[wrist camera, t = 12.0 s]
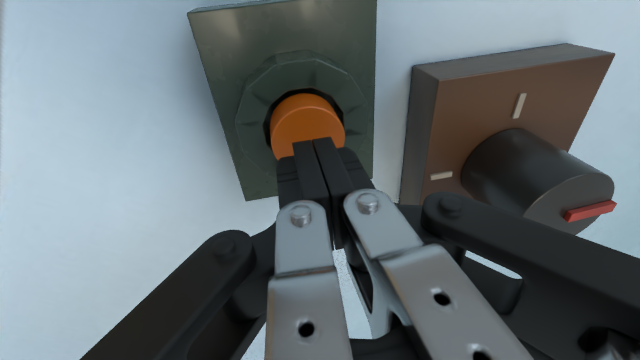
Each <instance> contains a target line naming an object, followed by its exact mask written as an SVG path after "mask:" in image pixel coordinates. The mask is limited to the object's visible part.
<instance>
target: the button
mask: <svg viewBox="0 0 640 360" xmlns="http://www.w3.org/2000/svg"><path fill="white" fill-rule="evenodd" d="M270 136H271V146H272V150H273V153H274V155H275V157H276V159H277V160H278V161H279V159H280V158H281V157H287V156H293V155H294V153H293V147H292V143H293V142H299V141H305V140H311V142H312V139H317V138H323V137H330V136H331V138H332V140H333V142H334V144H335V146H336V148H341V147H343V146H344V142H345V132H344V128H343V126H342V123H341V121H340V120H339V118H338V116H337V115H336V113H335V111H334V109H333V108H332V106H331V105H330V104H329V103H328V102H327V101H326V100H325V99H323V98H322V97H320V96H318V95H315V94H310V93H299V94H295V95H292V96H290V97H288V98H286V99H284V100H283V101H282V102H281V103H279V105H278V106H277V107H276V108H275V110H274V111H273V114H272V116H271V119H270Z"/></svg>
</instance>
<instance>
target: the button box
mask: <svg viewBox="0 0 640 360" xmlns="http://www.w3.org/2000/svg"><path fill="white" fill-rule="evenodd" d="M376 10H377V0H261V1H253V2H244V3H236V4H227V5H218V6H210V7H201V8H196V9H194V10H192V11H190V12H188V13H187V17H188V20H189V23H190V26H191V29H192V32H193V36H194V39H195V42H196V45H197V48H198V51H199V55H200V58H201V61H202V64H203V67H204V70H205V74H206V77H207V80H208V83H209V86H210V89H211V93H212V96H213V99H214V102H215V105H216V109H217V112H218V115H219V118H220V121H221V124H222V128H223V131H224V134H225V137H226V140H227V143H228V147H229V150H230V153H231V156H232V159H233V162H234V166H235V169H236V172H237V175H238V178H239V181H240V185H241V188H242V191H243V194H244V197H245V200H246V201H251V200H256V199H262V198H268V197H273V196H278V186H277V175H276V164H277V163H278V160H277V159H276V157H275V155H274V153H273V150H272V146H271V136H270V119H271V116H272V114H273V111H274V110H275V108H276V107H277V106H278V105H279V103H281V102H282V101H283V100H284V99H286V98H288V97H290V96H292V95H295V94H299V93H310V94H315V95H318V96H320V97H322V98H323V99H325V100H326V101H327V102H328V103H329V104H330V105H331V106H332V108H333V109H334V111H335V113H336V115H337V116H338V118H339V120H340V121H341V123H342V126H343V128H344V132H345V142H344V146H343V147H348V148H349V149H351V150H352V151H354V152H355V153H356V155H357V157H358V158H359V161H360V162H361V164H362V165H363V168H364V169H365V171H366V173H367V174H368V176H369V178H370V179H372V176H373V135H374V93H375V52H376Z"/></svg>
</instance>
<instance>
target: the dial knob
mask: <svg viewBox="0 0 640 360" xmlns="http://www.w3.org/2000/svg"><path fill="white" fill-rule="evenodd" d="M462 184H463V187H464V189H465V190H466V191H467V192H468V193H469V194H470V195H471V196H472V197H473V198H474V199H475V200H477V201H480V202H483V203H485V204H488V205H491V206H494V207H497V208H499V209H502V210H505V211H508V212H511V213H513V214H516V215H519V216H522V217H525V218H527V219H530V220H533V221H536V222H539V223H541V224H544V225H547V226H550V227H552V228H555V229H558V230H561V231H564V232H566V233H569V234H572V235H576V234H578V233H579V232H581V231H582V230H584V229H585V228H587V227H588V226H589V225H590V224H591V223H593V222H594V221H595V220H596V219H597V218H598V217H599V216H600V215H601V214H604V213H608V212H612V211H613V209H614V208H615V206H616V204H617V203H616V202H614V201H612V200H611V199H612V196H613V193H614V183H613V181H612V179H611V178H610V177H609V176H608V175H606V174H604V173H603V172H601V171H599V170H597V169H596V168H594V167H592V166H590V165H588V164H587V163H585V162H583V161H581V160H580V159H578V158H576V157H574V156H573V155H571V154H569V153H567V152H565V151H564V150H562V149H560V148H558V147H557V146H555V145H553V144H551V143H549V142H548V141H546V140H544V139H542V138H541V137H539V136H537V135H535V134H533V133H532V132H530V131H528V130H525V129H510V130H506V131H502V132H500V133H497V134H496V135H494V136H492V137H490V138H489V139H487V140H486V141H484V142H483V143H482V144H481V145H479V146H478V147H477V148H476V149H475V150H474V151H473V153H472V154H471V155H470V157H469V158H468V160H467V161H466V163H465V165H464V168H463V171H462Z"/></svg>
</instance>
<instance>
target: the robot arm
mask: <svg viewBox="0 0 640 360" xmlns="http://www.w3.org/2000/svg"><path fill="white" fill-rule="evenodd" d="M292 147H293V153H294V155H293V156H287V157H281V158H280V159H279V161H278V163H277V164H276V175H277V186H278V196H279V207H280V211H279V212H278V214H277V218H276V221H275V223H274V224H273V225H272V226H270V227H269V228H268V229H266V230H264V231H262V232H260V233H258V234H256V235H254V236H251V237H250V236H249V235H248V234H247V233H245V232H243V231H240V230H227V231H223V232H220V233H217V234H215V235H213V236H212V237H210V238H209V239H208V240H206V241H205V242H204V243H203V244H202V245H201V246H200V247H199V248H198V249H197V250H196V251H195V252H194V253H193V254H191V255H190V256H189V257H188V258H187V259H186V260H185V261H184V262H183V263H182V264H181V265H180V266H179V267H178V268H177V269H175V270H174V271H173V272H172V273H171V274H170V275H169V276H168V277H167V278H166V279H165V280H164V281H163V282H162V283H161V284H160V285H158V286H157V287H156V288H155V289H154V290H153V291H152V292H151V293H150V294H149V295H148V296H147V297H146V298H145V299H144V300H142V301H141V302H140V303H139V304H138V305H137V306H136V307H135V308H134V309H133V310H132V311H131V312H130V313H129V314H128V315H127V316H125V317H124V318H123V319H122V320H121V321H120V322H119V323H118V324H117V325H116V326H115V327H114V328H113V329H112V330H111V331H109V332H108V333H107V334H106V335H105V336H104V337H103V338H102V339H101V340H100V341H99V342H98V343H97V344H96V345H95V346H94V347H92V348H91V349H90V350H89V351H88V352H87V353H86V354H85V355H84V356H83V357H82V358H81V359H80V360H240V359H241V358H242V356H243V355H244V353H245V352H246V350H247V349H248V347H249V346H250V344H251V343H252V342H253V340H254V339H255V337H256V336H257V334H258V333H259V331H260V330H261V328H262V327H263V325H264V324H265V322H266V337H265V357H264V360H640V259H639V258H636V257H633V256H631V255H628V254H625V253H622V252H620V251H617V250H614V249H611V248H608V247H606V246H603V245H600V244H597V243H594V242H592V241H589V240H586V239H583V238H580V237H578V236H575V235H572V234H569V233H566V232H564V231H561V230H558V229H555V228H552V227H550V226H547V225H544V224H541V223H539V222H536V221H533V220H530V219H527V218H525V217H522V216H519V215H516V214H513V213H511V212H508V211H505V210H502V209H499V208H497V207H494V206H491V205H488V204H485V203H483V202H480V201H477V200H474V199H472V198H469V197H466V196H463V195H460V194H457V193H453V192H446V191H441V192H435V193H432V194H430V195H428V196H427V197H426V198H425V199H424V201H423V206H422V205H403V204H397V203H393V201H392V200H391V198H390V197H389V196H388V195H387V194H385V193H383V192H381V191H379V190H376V188H375V187H374V185H373V183H372V181H371V180H370V178H369V176H368V174H367V173H366V171H365V169H364V168H363V165H362V164H361V162H360V161H359V158H358V157H357V155H356V153H355V152H354V151H352V150H351V149H349V148H348V147H341V148H336V146H335V144H334V142H333V140H332V138H331V136H330V137H323V138H317V139H312V142H311V140H305V141H299V142H293V143H292ZM333 241H334V244H333ZM334 245H335V248H336V250H338V249H343V248H344V251H345V254H346V261H347V269H348V272H349V274H350V277H351V279H352V282H353V284H354V287H355V289H356V292H357V294H358V297H359V299H360V301H361V304H362V306H363V309H364V311H365V314H366V316H367V319H368V322H369V325H370V329H371V334H372V338H373V339H351V338H349V335H348V329H347V324H346V318H345V312H344V307H343V301H342V296H341V290H340V285H339V279H338V274H337V269H336V267H335V265H334V259H333V254H332V251H333V250H334ZM467 250H468V251H470V252H472V253H475V254H477V255H479V256H481V257H483V258H485V259H488V260H490V261H492V262H494V263H496V264H498V265H501V266H503V267H505V268H507V269H509V270H511V271H513V272H515V273H517V274H519V275H520V276H521V277H522V279H514V278H511V277H508V276H506V275H504V274H502V273H500V272H498V271H495V270H493V269H491V268H489V267H487V266H485V265H483V264H481V263H479V262H477V261H474V260H472V259H470V258H468V257H466V256H465V254H466V251H467Z"/></svg>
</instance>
